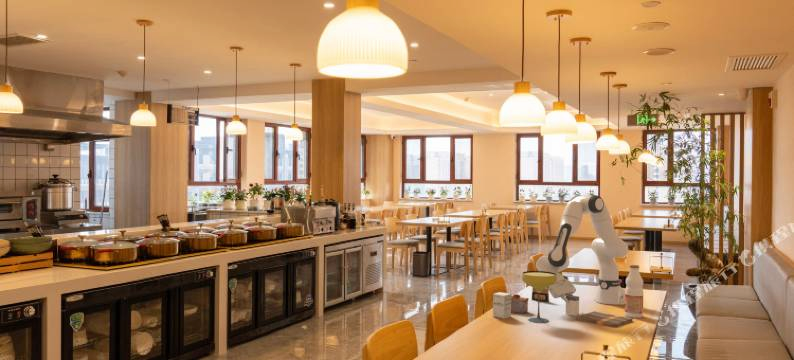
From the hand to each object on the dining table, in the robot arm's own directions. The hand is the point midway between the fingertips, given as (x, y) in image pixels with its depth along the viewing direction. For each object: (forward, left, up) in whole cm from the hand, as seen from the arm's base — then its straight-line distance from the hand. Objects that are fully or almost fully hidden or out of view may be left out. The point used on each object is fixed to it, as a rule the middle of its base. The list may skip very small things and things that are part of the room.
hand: (571, 301), depth 345 cm
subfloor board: (0, +20, -7) cm, 21 cm away
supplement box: (+35, -21, -7) cm, 42 cm away
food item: (+19, -23, -7) cm, 31 cm away
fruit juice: (-22, +26, -7) cm, 35 cm away
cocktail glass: (+27, -3, -7) cm, 28 cm away
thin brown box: (-17, -31, -7) cm, 36 cm away
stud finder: (0, +1, -7) cm, 7 cm away
